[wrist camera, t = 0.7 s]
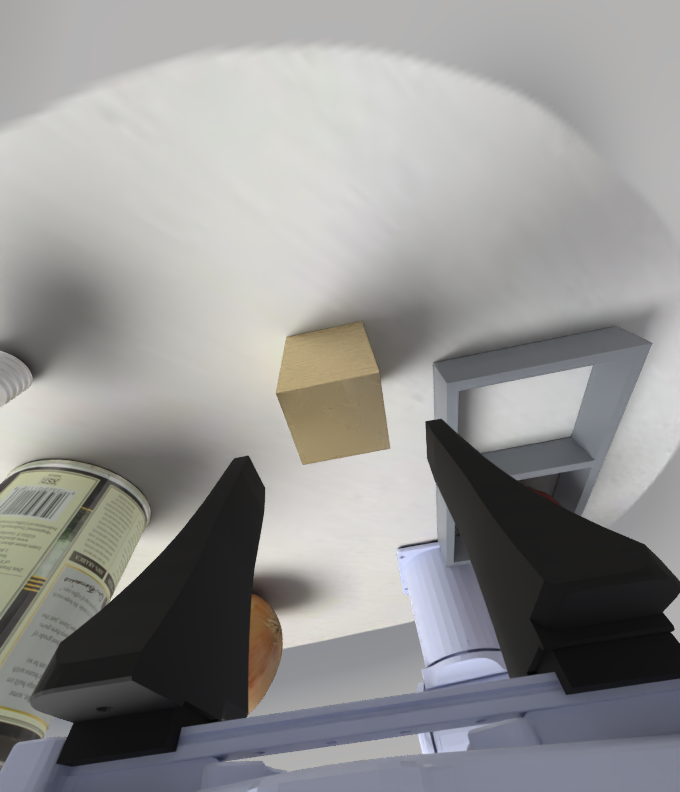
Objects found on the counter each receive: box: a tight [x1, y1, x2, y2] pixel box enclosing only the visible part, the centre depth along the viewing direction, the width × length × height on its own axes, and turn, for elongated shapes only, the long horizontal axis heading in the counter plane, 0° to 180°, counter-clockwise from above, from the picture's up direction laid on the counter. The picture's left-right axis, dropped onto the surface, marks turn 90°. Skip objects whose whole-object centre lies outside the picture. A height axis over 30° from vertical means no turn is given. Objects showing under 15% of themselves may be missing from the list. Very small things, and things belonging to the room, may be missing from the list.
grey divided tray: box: [433, 326, 652, 567], centre depth 25 cm, size 21×11×2 cm, turn 11°
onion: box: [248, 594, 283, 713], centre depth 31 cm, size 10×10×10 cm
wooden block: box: [276, 321, 390, 465], centre depth 17 cm, size 4×4×6 cm
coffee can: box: [0, 460, 151, 771], centre depth 19 cm, size 10×10×14 cm
